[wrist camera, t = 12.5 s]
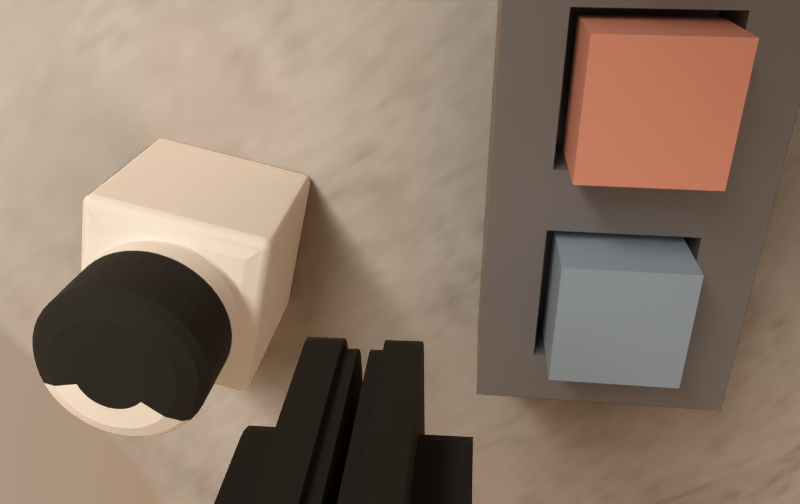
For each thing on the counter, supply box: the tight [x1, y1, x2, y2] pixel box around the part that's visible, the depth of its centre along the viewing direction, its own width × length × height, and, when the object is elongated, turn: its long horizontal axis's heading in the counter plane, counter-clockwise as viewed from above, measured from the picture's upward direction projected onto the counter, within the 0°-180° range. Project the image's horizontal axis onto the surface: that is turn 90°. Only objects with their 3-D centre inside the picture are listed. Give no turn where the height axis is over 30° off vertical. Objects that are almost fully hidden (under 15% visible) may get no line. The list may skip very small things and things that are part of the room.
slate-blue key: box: [542, 231, 704, 388], centre depth 28 cm, size 5×5×4 cm
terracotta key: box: [563, 15, 759, 191], centre depth 24 cm, size 5×5×4 cm
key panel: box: [477, 0, 800, 411], centre depth 27 cm, size 26×10×5 cm, turn 0°
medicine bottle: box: [33, 139, 310, 436], centre depth 29 cm, size 7×7×12 cm
